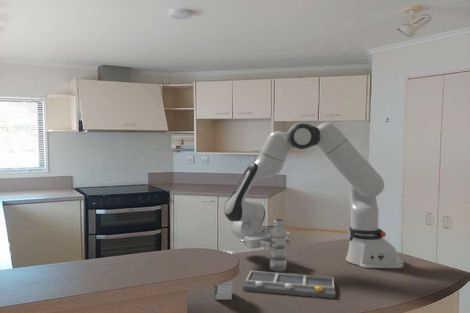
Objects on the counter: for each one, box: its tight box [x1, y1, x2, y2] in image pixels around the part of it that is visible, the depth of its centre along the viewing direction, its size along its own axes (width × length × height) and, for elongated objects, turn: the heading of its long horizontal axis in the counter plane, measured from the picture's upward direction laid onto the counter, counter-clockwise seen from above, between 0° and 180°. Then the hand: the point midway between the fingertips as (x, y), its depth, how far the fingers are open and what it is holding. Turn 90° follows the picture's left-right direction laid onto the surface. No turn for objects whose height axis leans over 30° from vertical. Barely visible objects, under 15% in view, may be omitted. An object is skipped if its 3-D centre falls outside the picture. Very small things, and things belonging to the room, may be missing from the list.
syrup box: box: [213, 250, 234, 301], centre depth 128 cm, size 6×6×14 cm
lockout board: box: [242, 270, 336, 299], centre depth 137 cm, size 30×14×3 cm, turn 78°
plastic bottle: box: [269, 218, 288, 273], centre depth 152 cm, size 6×7×20 cm
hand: (279, 243), depth 152 cm, fingers open, 8 cm apart
